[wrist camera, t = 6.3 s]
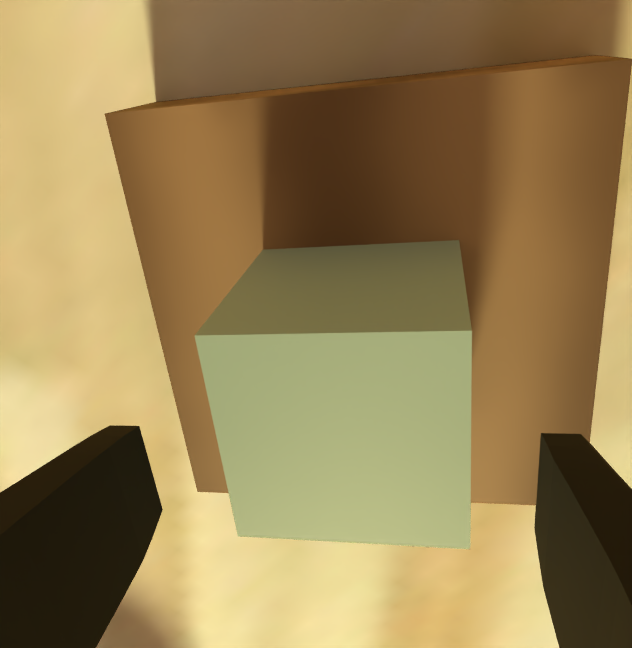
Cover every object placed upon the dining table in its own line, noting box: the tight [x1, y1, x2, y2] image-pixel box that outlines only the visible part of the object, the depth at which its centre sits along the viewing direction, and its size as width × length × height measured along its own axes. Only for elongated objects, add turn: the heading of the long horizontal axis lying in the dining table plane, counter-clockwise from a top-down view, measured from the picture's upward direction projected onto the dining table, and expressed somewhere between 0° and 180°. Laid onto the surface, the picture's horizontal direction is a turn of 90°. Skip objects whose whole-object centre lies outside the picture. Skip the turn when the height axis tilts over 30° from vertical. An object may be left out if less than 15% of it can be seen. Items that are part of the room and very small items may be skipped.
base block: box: [105, 55, 632, 505], centre depth 17 cm, size 12×12×3 cm
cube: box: [195, 240, 472, 549], centre depth 14 cm, size 5×5×5 cm
